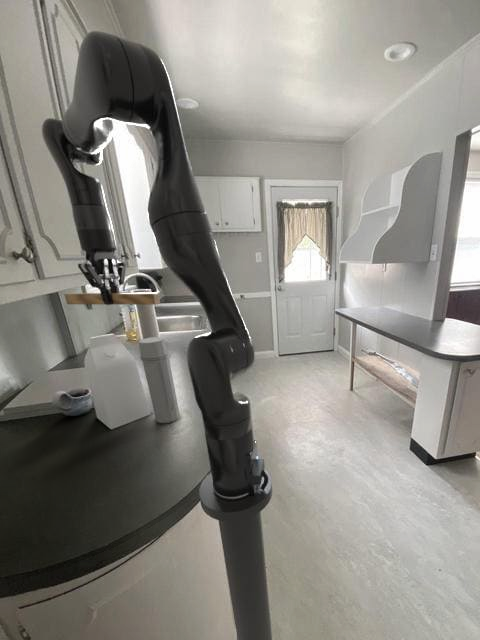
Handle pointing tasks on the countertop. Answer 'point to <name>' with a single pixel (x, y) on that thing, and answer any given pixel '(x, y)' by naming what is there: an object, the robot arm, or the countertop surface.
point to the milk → (114, 382)
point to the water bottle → (159, 379)
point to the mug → (73, 401)
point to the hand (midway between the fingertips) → (113, 303)
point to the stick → (114, 298)
